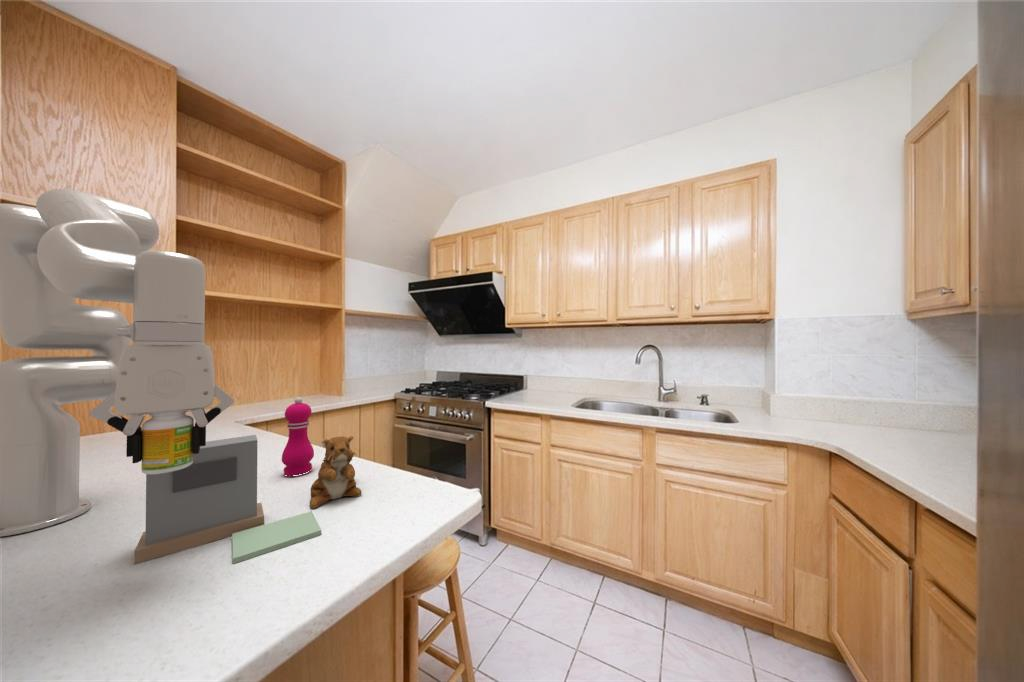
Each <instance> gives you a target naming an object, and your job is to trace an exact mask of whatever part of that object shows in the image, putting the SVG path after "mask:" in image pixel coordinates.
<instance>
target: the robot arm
mask: <svg viewBox="0 0 1024 682" xmlns="http://www.w3.org/2000/svg"><path fill="white" fill-rule="evenodd" d="M159 228H160V227H159V224H158V221H157V220H156V218H155V217H154V216H153V214H151V213H150V212H149V211H148V210H145V209H143V208H141V207H139V206H136V205H131V204H129V203H125V202H123V201H122V202H120V201H118V200H114V199H110V198H108V197H103V196H100V195H96V194H93V193H89V192H86V191H81V190H76V189H72V188H71V189H70V188H54V189H51V190H46V191H44V192H43V193H41V194H40V195H39V196H38V197H37V199H36V203H35V207H34V206H29V205H22V204H17V203H15V204H14V203H0V335H1V338H2V340H3V342H4V344H6V345H7V346H9V347H11V348H14V349H19V350H20V349H21V350H26V351H27V350H28V351H29V350H31V351H90V352H91V353H92V354H93V355H87V356H70V355H67V356H66V355H65V356H62V355H61V356H60V355H59V356H32V357H20V358H12V359H9V360H8V359H7V360H3V361H1V362H0V538H1V537H8V536H13V535H18V534H24V533H29V532H32V531H36V530H40V529H44V528H47V527H51V526H54V525H58V524H60V523H63V522H65V521H69V520H72V519H74V518H77V517H78V516H80V515H83V514H84V513H86V512H87V511H89V510H90V509H91V507H92V501H91V500H89V499H85V498H80V467H81V466H80V461H81V458H80V457H81V456H80V455H81V454H80V452H81V451H80V450H81V426H80V423H79V421H78V420H77V418H75V416H73V415H71V414H70V413H68V412H66V411H65V410H64V409H62V408H61V407H60V406H61V405H67V404H72V403H73V404H74V403H83V402H91V401H93V402H95V401H101V402H100V403H99V404H97V405H96V406H95V407H94V408H92V409H91V410H90V411H89V412H88V414H89V416H90V417H93V418H94V419H97V420H98V421H100V422H103V423H106V424H107V425H109V426H111V427H112V428H114V429H115V430H117V431H119V432H121V433H122V434H123V435H124V436H126V451H125V452H126V453H125V454H126V457H127V458H129V457H131V458H132V464H136V463H137V464H138V463H139V462H142V425H143V423H144V420H145V417H146V416H147V415H149V414H156V413H167V412H178V411H187V412H188V411H190V412H191V415H192V416H193V419H194V421H195V422H194V427H193V441H192V453H194V454H198V453H199V451H200V446H205V445H206V442H207V425H209V423H211V421H213V420H214V419H215V418H217V417H218V416H219V415H220V414H221V413H223V412H224V411H225V410H227V409H228V408H229V407H231V406H232V405H233V404H234V403H235V398H234V397H232V396H231V395H230V394H228V393H227V392H226V391H225V390H223V389H222V388H221V387H219V386H218V384H216V382H215V380H216V379H215V366H214V364H215V363H214V357H213V351H212V348H211V345H210V344H205V324H206V323H205V322H206V321H205V317H206V316H205V312H206V267H205V265H204V263H203V262H202V260H201V259H199V258H197V257H194V256H192V255H188V254H184V253H179V252H173V251H165V250H151V249H152V248H153V247H155V245H156V243H157V242H158V240H159V238H160V229H159ZM75 299H79V300H80V299H81V300H88V301H98V302H100V301H101V302H112V303H113V302H114V303H123V304H124V303H125V304H133V305H132V321H133V322H131V324H130V323H129V321H128V319H127V318H126V316H125V315H124V314H123V313H122V312H120V310H118V309H115V308H111V307H107V306H99V305H83V304H78V303H76V301H75ZM131 341H132V343H131ZM215 398H217V400H219V401H220V402H219V403H217V404H216V405H214V407H212V408H211V409H210V410H207V412H206V410H205V408H208V407H210V406H211V405H213V404H214V400H215ZM113 407H114V410H115V412H113V411H112V409H113ZM116 413H117V414H116ZM123 415H124V416H129V418H128V419H127V418H125V417H124V416H123Z"/></svg>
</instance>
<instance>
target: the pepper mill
mask: <svg viewBox="0 0 1024 682" xmlns="http://www.w3.org/2000/svg"><path fill="white" fill-rule="evenodd" d="M311 416H312V407H311V406H310V405H309V404H308V403H306V402H305V403H304V402H303V399H302V397H300V396H297V397H295V398H294V403H292V404H290V405H288V406H287V407H286V409H285V410H284V417H285V420H287V423H286V425H287V426H286V428H287V429H288V439H287V442H286V445H285V447H284V449H283V451H282V454H281V463H283V465H284V466H285V467H284V468H283V476H284V475H287V476H293V475H299V474H303V473H306V472H308V471H310V470H311V469H312V470H313V464H312V460H313V458H314V457H315V452H314V451H315V450H314V448H313V445H312V443H311V441H310V439H309V436H308V427H310V420H309V418H310V417H311Z"/></svg>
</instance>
